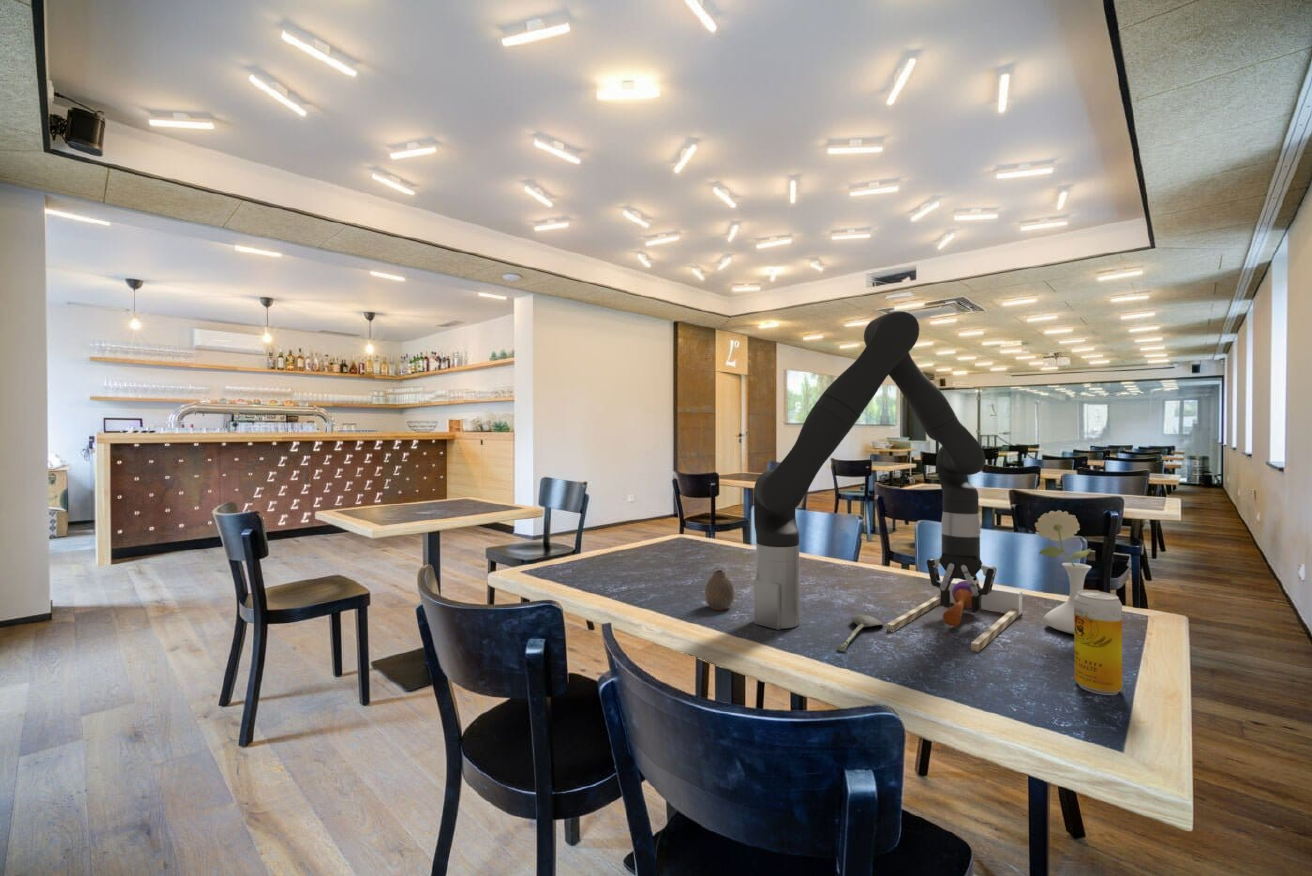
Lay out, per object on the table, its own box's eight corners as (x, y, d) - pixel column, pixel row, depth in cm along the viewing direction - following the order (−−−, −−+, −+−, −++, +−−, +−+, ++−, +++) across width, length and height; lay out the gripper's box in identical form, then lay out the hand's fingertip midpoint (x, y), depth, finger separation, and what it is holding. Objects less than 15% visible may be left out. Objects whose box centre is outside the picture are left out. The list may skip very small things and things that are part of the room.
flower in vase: (1114, 631, 120) (1114, 511, 120) (1108, 645, 111) (1108, 516, 112) (1040, 618, 129) (1039, 506, 129) (1029, 630, 120) (1029, 510, 120)
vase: (738, 606, 138) (738, 569, 138) (726, 613, 132) (726, 575, 132) (713, 602, 142) (713, 566, 142) (699, 609, 136) (699, 571, 136)
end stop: (1018, 615, 130) (1018, 593, 130) (938, 601, 142) (938, 580, 142) (1022, 612, 132) (1022, 591, 132) (942, 598, 144) (942, 578, 144)
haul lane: (978, 652, 108) (978, 644, 108) (886, 630, 120) (886, 623, 120) (1018, 615, 130) (1018, 609, 130) (938, 601, 142) (938, 594, 142)
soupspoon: (887, 629, 125) (856, 625, 128) (886, 613, 125) (855, 609, 129) (858, 656, 107) (823, 651, 110) (857, 638, 107) (822, 633, 111)
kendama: (933, 603, 121) (952, 578, 137) (939, 632, 121) (958, 603, 136) (964, 603, 117) (980, 577, 133) (970, 632, 117) (986, 603, 133)
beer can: (1065, 681, 95) (1064, 590, 95) (1099, 679, 96) (1099, 589, 96) (1096, 697, 89) (1096, 600, 89) (1132, 695, 89) (1132, 599, 90)
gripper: (920, 531, 129) (920, 606, 129) (992, 538, 119) (992, 620, 119) (932, 527, 135) (932, 599, 135) (1001, 534, 125) (1002, 612, 125)
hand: (960, 609), depth 127 cm, fingers closed on kendama, 5 cm apart
